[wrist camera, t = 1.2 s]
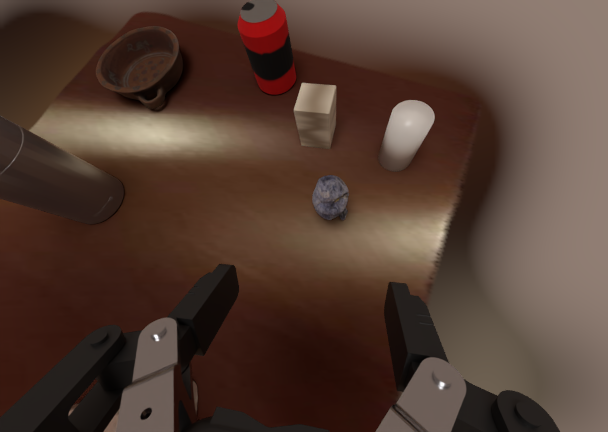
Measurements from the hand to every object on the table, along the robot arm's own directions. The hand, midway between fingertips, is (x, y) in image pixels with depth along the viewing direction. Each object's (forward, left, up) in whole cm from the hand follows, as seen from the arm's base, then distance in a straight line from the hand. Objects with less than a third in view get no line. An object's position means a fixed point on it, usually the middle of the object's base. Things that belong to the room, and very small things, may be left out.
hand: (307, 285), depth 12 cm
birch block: (-14, +21, -21) cm, 33 cm away
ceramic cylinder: (-1, +23, -21) cm, 31 cm away
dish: (-54, +17, -21) cm, 61 cm away
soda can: (-28, +28, -21) cm, 45 cm away
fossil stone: (-5, +10, -21) cm, 24 cm away
